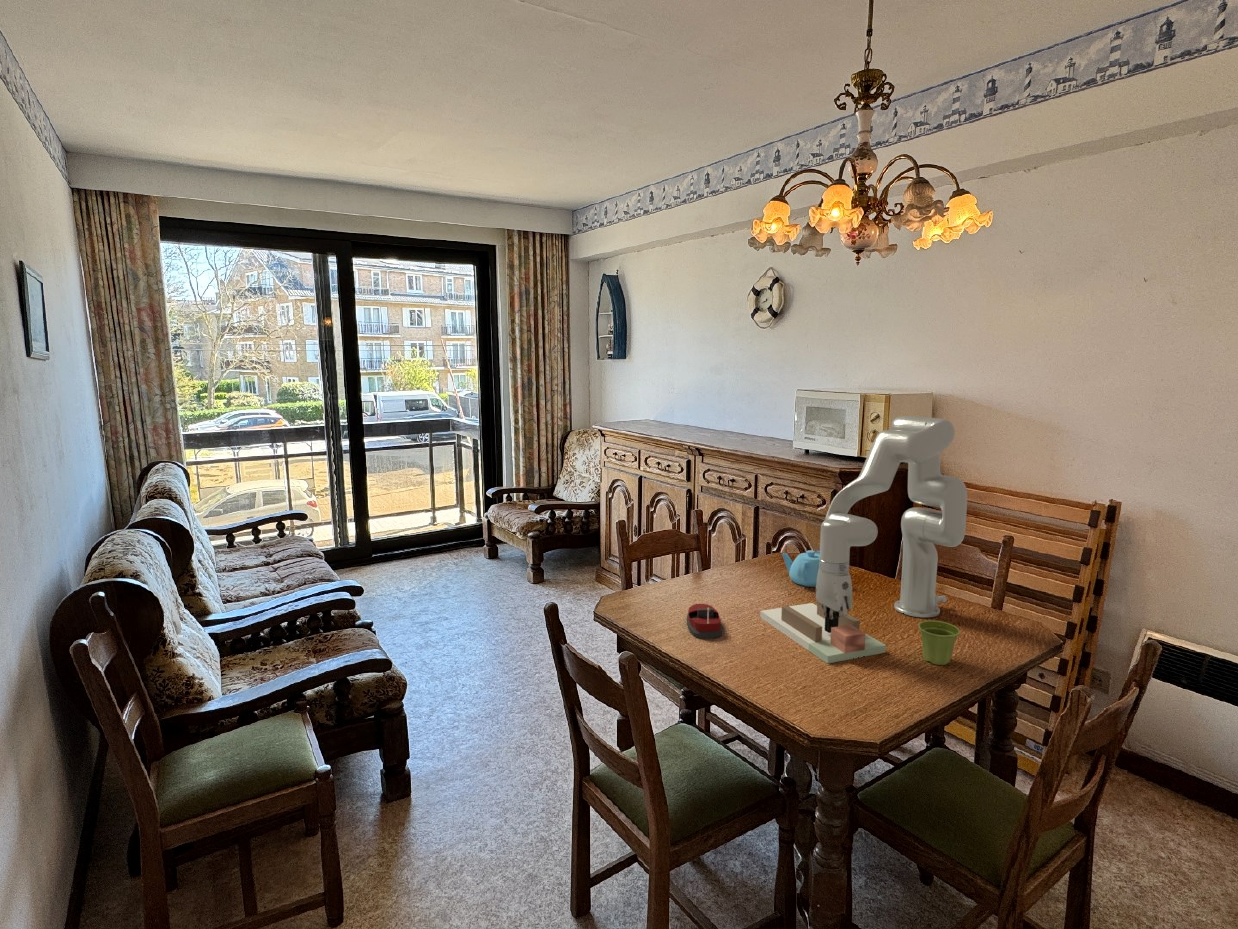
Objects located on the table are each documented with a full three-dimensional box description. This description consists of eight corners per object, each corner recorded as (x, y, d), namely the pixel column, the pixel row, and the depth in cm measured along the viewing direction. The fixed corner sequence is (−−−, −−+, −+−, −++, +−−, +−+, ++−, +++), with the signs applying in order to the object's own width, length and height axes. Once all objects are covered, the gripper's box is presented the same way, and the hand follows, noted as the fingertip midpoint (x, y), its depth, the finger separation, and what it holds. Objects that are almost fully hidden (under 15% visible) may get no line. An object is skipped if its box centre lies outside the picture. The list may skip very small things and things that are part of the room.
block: (849, 640, 174) (850, 624, 174) (864, 650, 169) (865, 633, 168) (830, 643, 173) (831, 627, 172) (844, 653, 167) (845, 636, 166)
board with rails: (811, 609, 202) (812, 590, 201) (885, 652, 172) (886, 630, 171) (760, 617, 196) (760, 598, 195) (827, 663, 166) (828, 641, 165)
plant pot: (962, 670, 162) (964, 636, 160) (921, 667, 164) (923, 634, 162) (951, 653, 171) (953, 621, 169) (912, 650, 173) (914, 619, 171)
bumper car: (715, 615, 199) (715, 583, 197) (728, 643, 179) (729, 608, 177) (683, 615, 198) (683, 583, 197) (692, 644, 179) (692, 609, 177)
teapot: (779, 575, 233) (780, 546, 231) (818, 572, 236) (820, 543, 234) (799, 590, 218) (800, 559, 216) (840, 586, 221) (842, 555, 219)
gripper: (864, 572, 170) (861, 639, 173) (827, 556, 184) (825, 619, 187) (840, 576, 167) (837, 644, 170) (805, 559, 181) (802, 623, 184)
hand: (831, 631), depth 178 cm, fingers closed
